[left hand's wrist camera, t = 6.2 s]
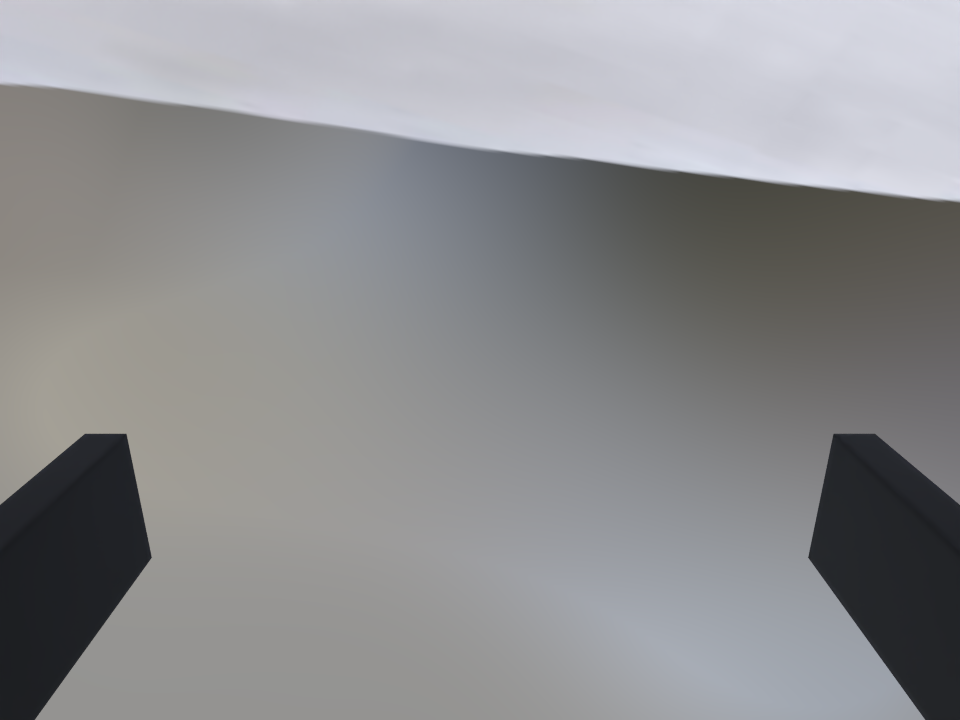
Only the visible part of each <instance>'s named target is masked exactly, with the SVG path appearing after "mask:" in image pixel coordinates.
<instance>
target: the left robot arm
mask: <svg viewBox="0 0 960 720" xmlns="http://www.w3.org/2000/svg"><path fill="white" fill-rule="evenodd" d="M151 558H152V557H151V552H150V547H149V542H148V537H147V532H146V528H145V523H144V518H143V513H142V508H141V503H140V498H139V493H138V488H137V484H136V479H135V474H134V469H133V464H132V459H131V454H130V449H129V444H128V439H127V435H126V434H84V435H83V436H82V437H81V438H80V439H78V440H77V441H76V442H75V443H74V444H72V445H71V446H70V447H69V448H68V449H66V450H65V451H64V452H63V453H62V454H60V455H59V456H58V457H57V458H56V459H55V460H53V461H52V462H51V463H50V464H49V465H47V466H46V467H45V468H44V469H43V470H41V471H40V472H39V473H38V474H37V475H35V476H34V477H33V478H32V479H31V480H30V481H28V482H27V483H26V484H25V485H24V486H22V487H21V488H20V489H19V490H18V491H16V492H15V493H14V494H13V495H12V496H10V497H9V498H8V499H7V500H6V501H4V502H3V503H2V504H1V505H0V720H35V719H36V717H37V716H38V714H39V713H40V712H41V710H42V709H43V707H44V706H45V705H46V703H47V702H48V700H49V699H50V698H51V696H52V695H53V694H54V692H55V691H56V689H57V688H58V687H59V685H60V684H61V683H62V681H63V680H64V678H65V677H66V676H67V674H68V673H69V671H70V670H71V669H72V667H73V666H74V665H75V663H76V662H77V660H78V659H79V658H80V656H81V655H82V653H83V652H84V651H85V649H86V648H87V647H88V645H89V644H90V642H91V641H92V640H93V638H94V637H95V635H96V634H97V633H98V631H99V630H100V629H101V627H102V626H103V624H104V623H105V622H106V620H107V619H108V617H109V616H110V615H111V613H112V612H113V611H114V609H115V608H116V606H117V605H118V604H119V602H120V601H121V599H122V598H123V597H124V595H125V594H126V592H127V591H128V590H129V588H130V587H131V586H132V584H133V583H134V581H135V580H136V579H137V577H138V576H139V574H140V573H141V572H142V570H143V569H144V568H145V566H146V565H147V563H148V562H149V561H150V559H151ZM808 558H809V559H810V561H811V562H812V563H813V565H814V566H815V568H816V569H817V570H818V572H819V573H820V574H821V576H822V577H823V579H824V580H825V581H826V583H827V584H828V586H829V587H830V588H831V590H832V591H833V592H834V594H835V595H836V597H837V598H838V599H839V601H840V602H841V604H842V605H843V606H844V608H845V609H846V610H847V612H848V613H849V615H850V616H851V617H852V619H853V620H854V622H855V623H856V624H857V626H858V627H859V628H860V630H861V631H862V633H863V634H864V635H865V637H866V638H867V640H868V641H869V642H870V644H871V645H872V646H873V648H874V649H875V651H876V652H877V653H878V655H879V656H880V658H881V659H882V660H883V662H884V663H885V664H886V666H887V667H888V669H889V670H890V671H891V673H892V674H893V676H894V677H895V678H896V680H897V681H898V683H899V684H900V685H901V687H902V688H903V689H904V691H905V692H906V694H907V695H908V696H909V698H910V699H911V701H912V702H913V703H914V705H915V706H916V707H917V709H918V710H919V712H920V713H921V714H922V716H923V717H924V718H925V720H960V505H959V504H958V503H957V502H955V501H954V500H953V499H952V498H951V497H950V496H948V495H947V494H946V493H945V492H944V491H942V490H941V489H940V488H939V487H938V486H936V485H935V484H934V483H933V482H932V481H930V480H929V479H928V478H927V477H926V476H924V475H923V474H922V473H921V472H920V471H919V470H917V469H916V468H915V467H914V466H913V465H911V464H910V463H909V462H908V461H907V460H905V459H904V458H903V457H902V456H901V455H900V454H898V453H897V452H896V451H895V450H894V449H892V448H891V447H890V446H889V445H888V444H886V443H885V442H884V441H883V440H882V439H880V438H879V437H878V436H877V435H876V434H834V435H833V440H832V444H831V449H830V454H829V459H828V464H827V469H826V474H825V479H824V484H823V488H822V493H821V498H820V503H819V508H818V513H817V518H816V523H815V528H814V532H813V537H812V542H811V547H810V552H809V557H808Z"/></svg>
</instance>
